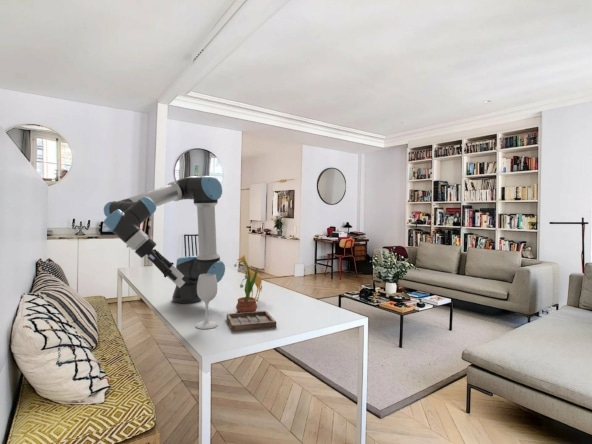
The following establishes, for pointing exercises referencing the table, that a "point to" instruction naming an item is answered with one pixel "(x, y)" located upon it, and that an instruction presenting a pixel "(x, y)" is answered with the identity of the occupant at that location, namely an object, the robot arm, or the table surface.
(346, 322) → the table surface
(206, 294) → the wineglass
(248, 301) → the potted flower
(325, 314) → the table surface
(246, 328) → the wooden tray
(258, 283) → the yellow flower sprig
